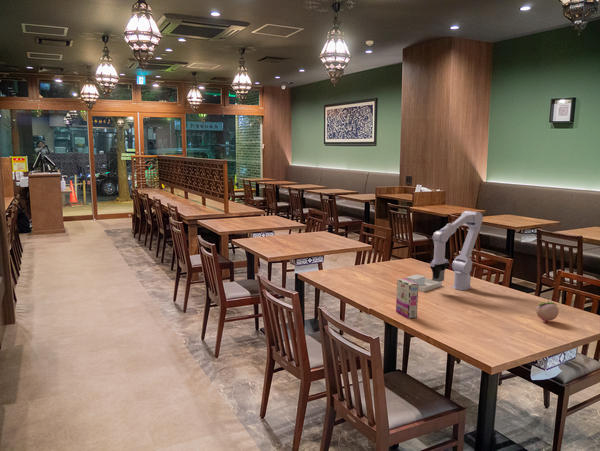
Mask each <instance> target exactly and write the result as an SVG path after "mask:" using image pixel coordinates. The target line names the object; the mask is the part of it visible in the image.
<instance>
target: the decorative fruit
mask: <svg viewBox="0 0 600 451" xmlns="http://www.w3.org/2000/svg"><path fill="white" fill-rule="evenodd" d="M557 306H558V305H557V303H555V302H551V301H550V302H549V300H547V302H543V301H542V302H540V303H538V304H537V305H536V308H535V313H536V315H537V317H538V318H539V319H540V320H542V321H544V322H546V323H547V322H550V321H553V320H555V319H556V318H557V317H558V315H559V308H558V307H557Z"/></svg>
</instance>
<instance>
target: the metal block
mask: <svg viewBox="0 0 600 451" xmlns="http://www.w3.org/2000/svg"><path fill="white" fill-rule="evenodd" d="M445 272H446V269H445V270H443V269H440V271H439V276H438V279H435V278H434V276H433V274H432V275H431V276H432V278H431V279H432V280H433V281H438V282H441V281H442V282H445Z"/></svg>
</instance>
